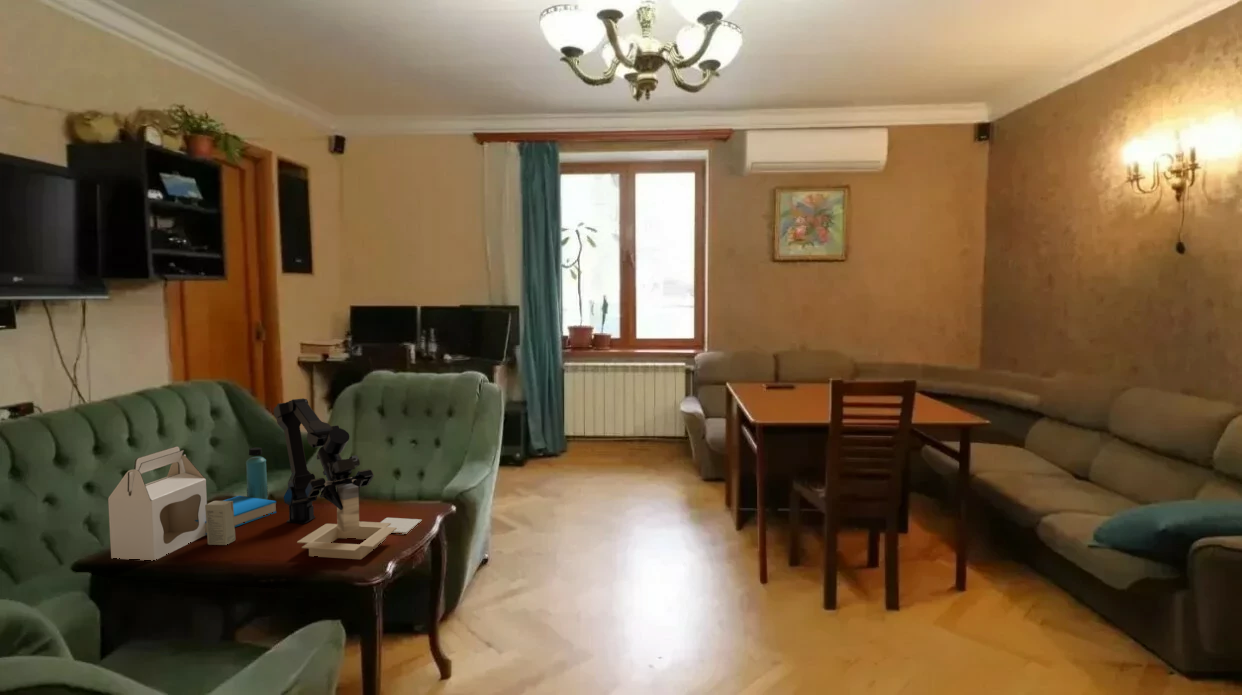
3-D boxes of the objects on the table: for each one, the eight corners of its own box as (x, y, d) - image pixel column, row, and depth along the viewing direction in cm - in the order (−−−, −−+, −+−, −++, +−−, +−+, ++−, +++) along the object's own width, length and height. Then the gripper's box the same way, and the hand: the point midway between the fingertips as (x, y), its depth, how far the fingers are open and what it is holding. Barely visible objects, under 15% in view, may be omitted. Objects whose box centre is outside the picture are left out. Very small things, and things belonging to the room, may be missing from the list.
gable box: (153, 561, 196) (148, 462, 193) (109, 559, 197) (104, 460, 195) (208, 534, 218) (205, 444, 215) (169, 531, 219) (165, 442, 217)
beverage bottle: (270, 504, 247) (269, 448, 245) (250, 508, 242) (248, 451, 240) (264, 500, 251) (262, 445, 249) (244, 504, 247) (242, 447, 245)
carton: (290, 560, 198) (289, 546, 198) (332, 532, 220) (332, 519, 220) (366, 565, 195) (366, 551, 195) (401, 536, 218) (401, 523, 217)
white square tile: (369, 532, 221) (369, 529, 221) (386, 519, 233) (386, 517, 233) (406, 534, 219) (406, 532, 219) (421, 521, 231) (421, 519, 231)
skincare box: (236, 540, 212) (234, 500, 211) (226, 545, 208) (225, 505, 207) (215, 539, 213) (214, 499, 212) (206, 544, 209) (204, 504, 208)
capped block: (337, 528, 207) (336, 486, 206) (352, 524, 211) (351, 483, 209) (344, 532, 204) (343, 489, 203) (359, 528, 207) (358, 486, 206)
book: (276, 500, 239) (212, 521, 215) (276, 513, 239) (212, 535, 215) (237, 495, 244) (170, 514, 220) (237, 507, 244) (170, 528, 221)
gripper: (308, 452, 201) (326, 499, 195) (370, 442, 215) (389, 486, 208) (297, 474, 207) (314, 520, 201) (358, 463, 221) (376, 506, 214)
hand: (350, 507), depth 206 cm, fingers closed on capped block, 4 cm apart
